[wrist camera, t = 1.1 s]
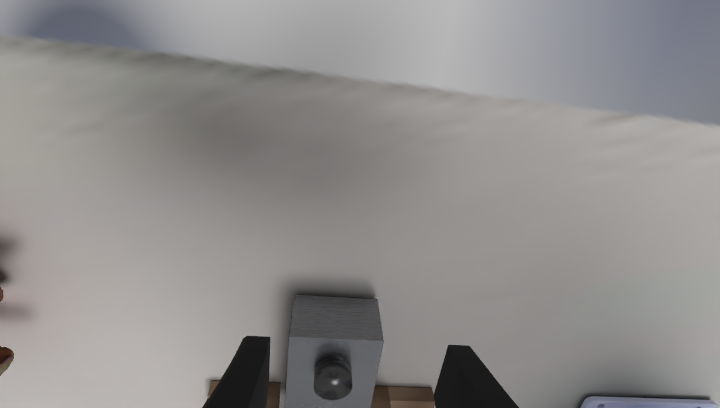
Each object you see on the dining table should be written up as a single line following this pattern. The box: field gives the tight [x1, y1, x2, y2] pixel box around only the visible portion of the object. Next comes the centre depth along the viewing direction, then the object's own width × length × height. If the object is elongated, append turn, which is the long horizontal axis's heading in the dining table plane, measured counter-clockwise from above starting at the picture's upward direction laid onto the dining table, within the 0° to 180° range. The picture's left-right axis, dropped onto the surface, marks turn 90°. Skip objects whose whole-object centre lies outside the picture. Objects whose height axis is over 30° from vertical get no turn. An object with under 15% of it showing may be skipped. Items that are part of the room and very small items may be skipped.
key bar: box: [285, 295, 384, 408], centre depth 22 cm, size 4×10×4 cm, turn 173°
